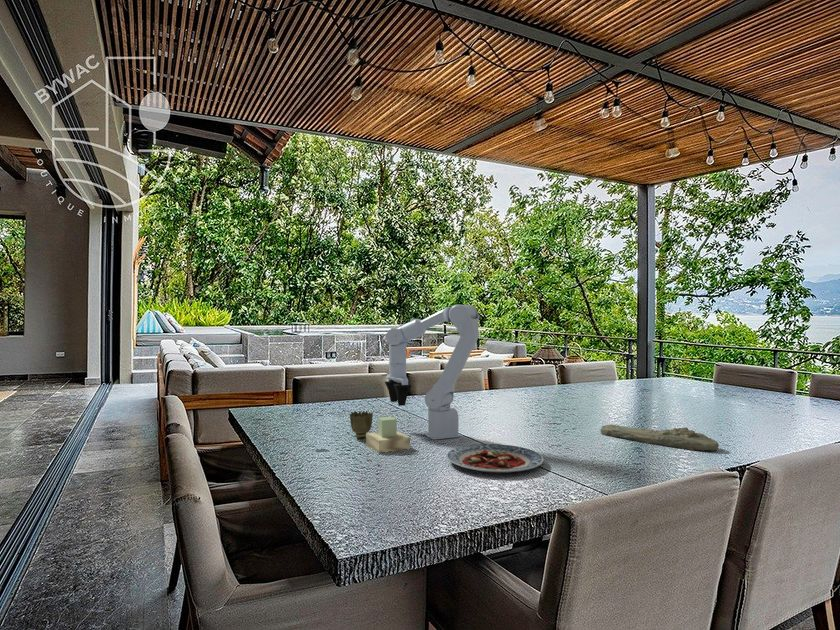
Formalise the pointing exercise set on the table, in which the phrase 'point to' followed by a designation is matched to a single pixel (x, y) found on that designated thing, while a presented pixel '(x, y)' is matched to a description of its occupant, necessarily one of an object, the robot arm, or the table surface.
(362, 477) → the table surface
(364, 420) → the cup
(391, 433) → the green block
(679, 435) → the elongated rock
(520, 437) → the table surface
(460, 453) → the ceramic plate
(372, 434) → the birch block
